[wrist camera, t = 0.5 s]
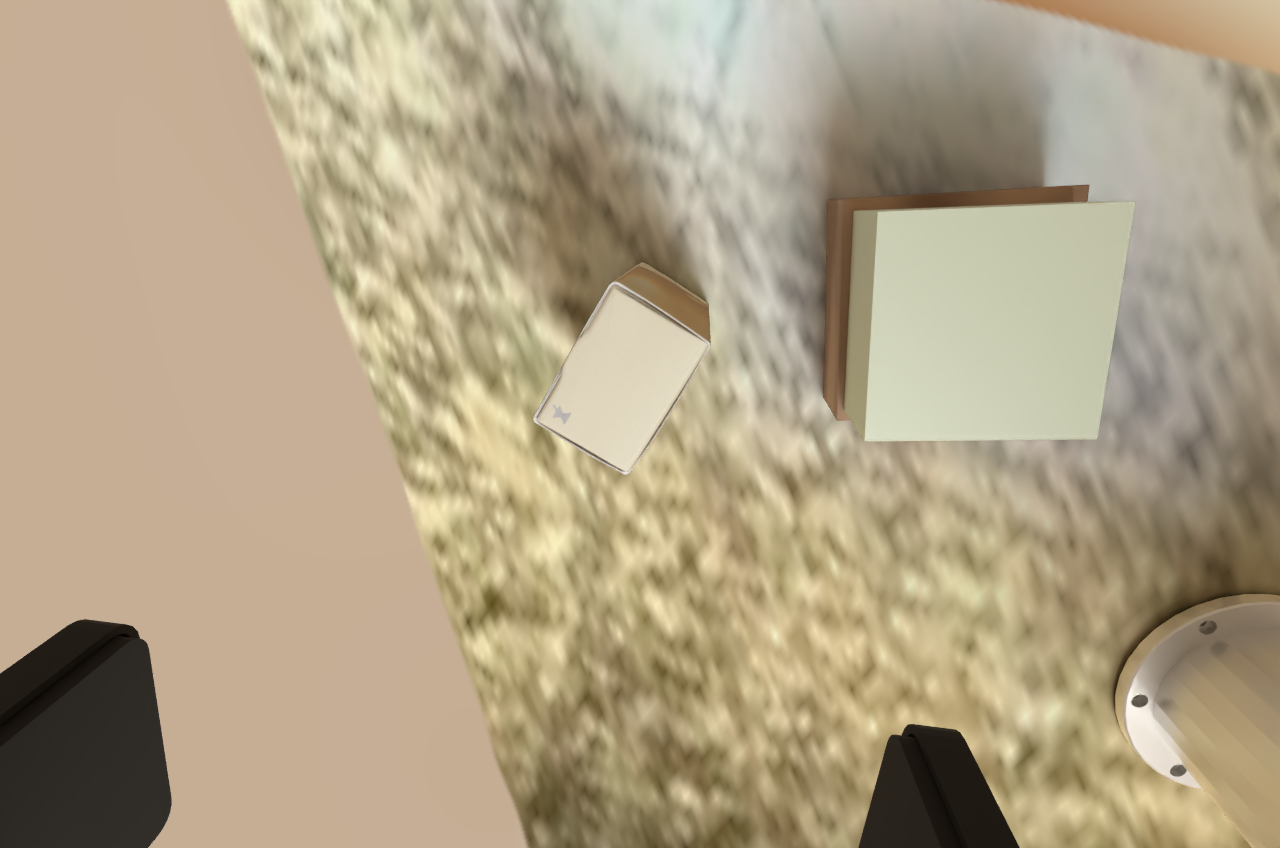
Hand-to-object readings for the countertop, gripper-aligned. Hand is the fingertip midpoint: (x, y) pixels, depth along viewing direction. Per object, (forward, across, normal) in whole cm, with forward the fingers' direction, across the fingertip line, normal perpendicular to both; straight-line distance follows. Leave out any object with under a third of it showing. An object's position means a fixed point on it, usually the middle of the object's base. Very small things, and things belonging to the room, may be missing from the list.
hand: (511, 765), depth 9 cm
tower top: (+25, -14, -3) cm, 29 cm away
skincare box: (+30, 0, 0) cm, 30 cm away
